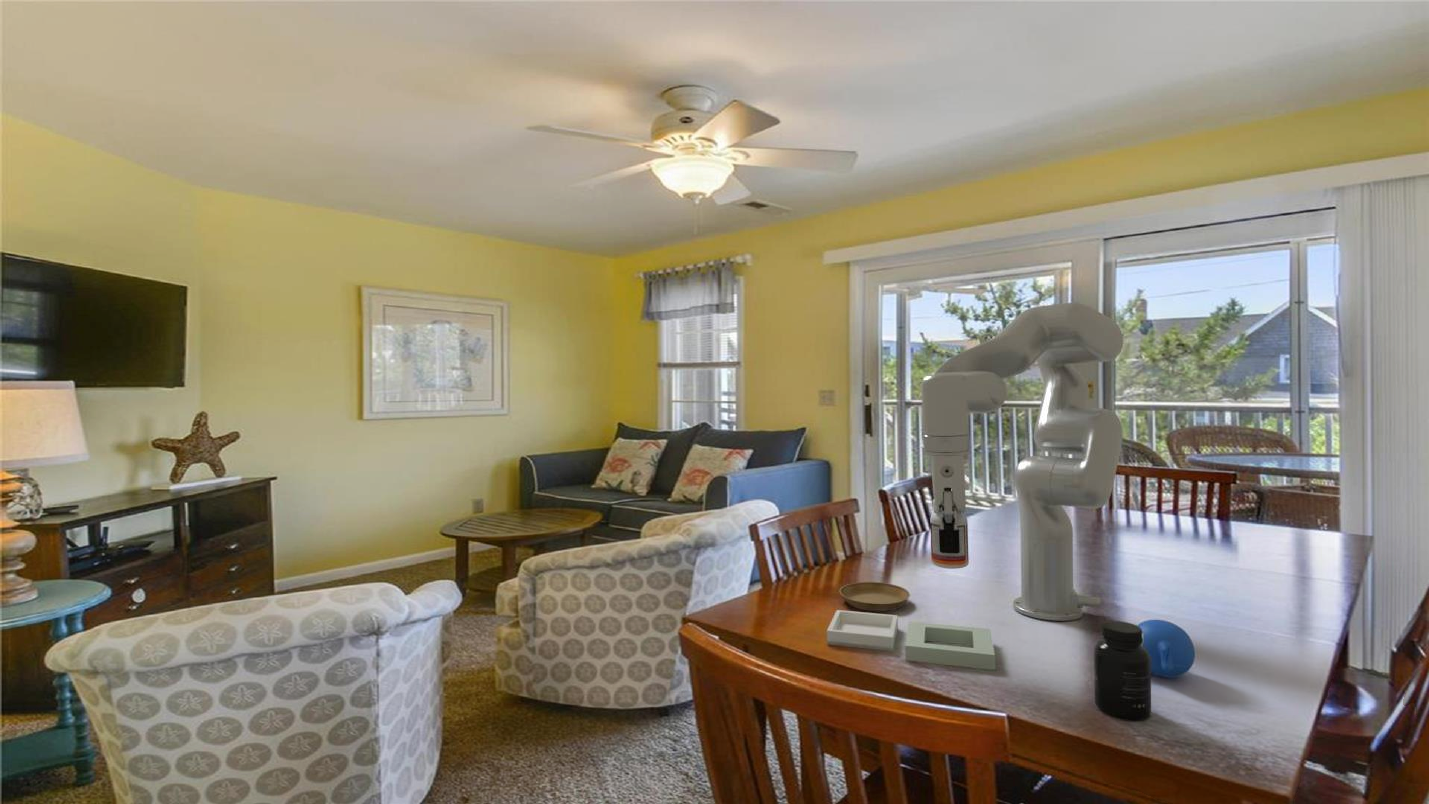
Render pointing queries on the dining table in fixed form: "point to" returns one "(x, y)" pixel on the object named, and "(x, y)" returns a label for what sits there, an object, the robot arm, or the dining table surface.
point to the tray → (863, 630)
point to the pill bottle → (962, 557)
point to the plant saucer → (874, 596)
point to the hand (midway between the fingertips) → (949, 546)
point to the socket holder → (950, 655)
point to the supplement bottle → (1122, 672)
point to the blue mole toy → (1167, 648)
